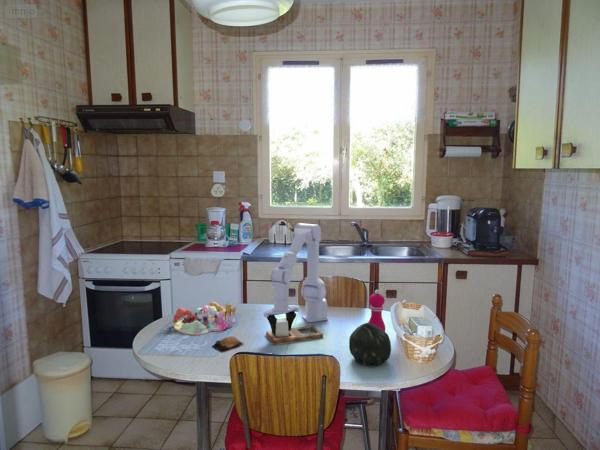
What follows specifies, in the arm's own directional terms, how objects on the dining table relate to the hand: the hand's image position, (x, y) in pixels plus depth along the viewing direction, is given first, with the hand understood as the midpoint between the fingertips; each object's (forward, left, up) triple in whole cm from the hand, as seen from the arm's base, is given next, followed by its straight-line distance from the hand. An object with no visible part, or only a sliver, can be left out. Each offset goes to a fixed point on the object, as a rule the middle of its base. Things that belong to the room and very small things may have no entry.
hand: (281, 331), depth 170 cm
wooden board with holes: (-6, 0, -3) cm, 6 cm away
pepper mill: (-35, +14, -3) cm, 37 cm away
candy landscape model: (+25, -26, -3) cm, 37 cm away
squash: (-23, +30, -3) cm, 38 cm away
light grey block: (0, 0, -2) cm, 3 cm away
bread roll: (+21, -1, -3) cm, 21 cm away
